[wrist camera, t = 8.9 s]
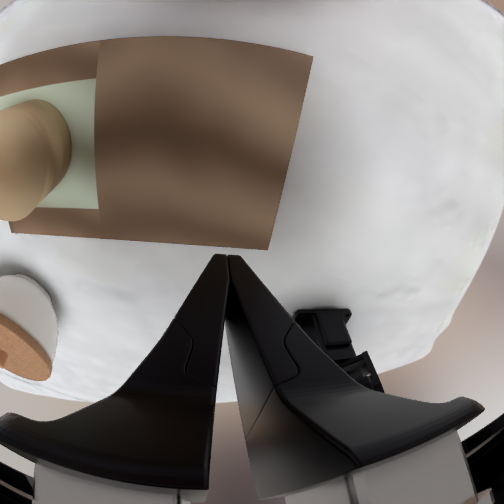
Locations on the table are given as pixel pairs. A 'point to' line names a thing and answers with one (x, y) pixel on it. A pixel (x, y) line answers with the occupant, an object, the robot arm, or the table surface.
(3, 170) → the oak puck
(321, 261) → the table surface
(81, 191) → the walnut board
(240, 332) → the robot arm
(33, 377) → the lidded jar
